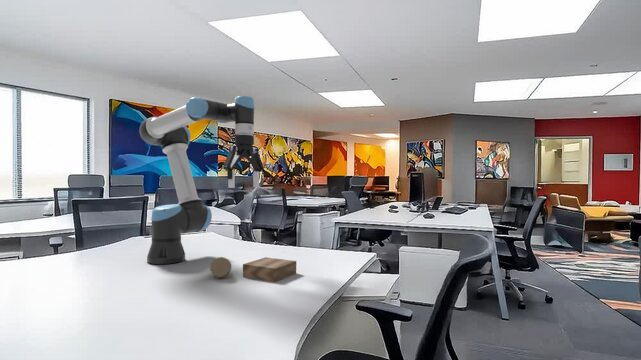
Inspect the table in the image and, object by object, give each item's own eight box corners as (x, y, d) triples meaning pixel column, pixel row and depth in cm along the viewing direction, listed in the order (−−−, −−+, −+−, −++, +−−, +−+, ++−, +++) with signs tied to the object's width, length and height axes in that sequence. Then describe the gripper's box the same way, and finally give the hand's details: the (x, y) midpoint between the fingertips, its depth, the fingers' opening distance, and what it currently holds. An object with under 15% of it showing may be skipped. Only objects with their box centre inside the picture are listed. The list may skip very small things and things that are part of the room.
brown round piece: (233, 271, 148) (239, 252, 142) (222, 289, 139) (228, 271, 134) (215, 263, 148) (220, 244, 142) (203, 281, 139) (208, 262, 134)
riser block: (242, 278, 141) (243, 264, 141) (265, 270, 153) (265, 257, 153) (275, 283, 134) (275, 268, 134) (296, 274, 147) (296, 261, 147)
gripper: (227, 131, 146) (226, 188, 146) (272, 137, 166) (271, 187, 167) (213, 132, 150) (213, 187, 150) (259, 138, 171) (259, 186, 171)
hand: (244, 187), depth 159 cm, fingers open, 13 cm apart
